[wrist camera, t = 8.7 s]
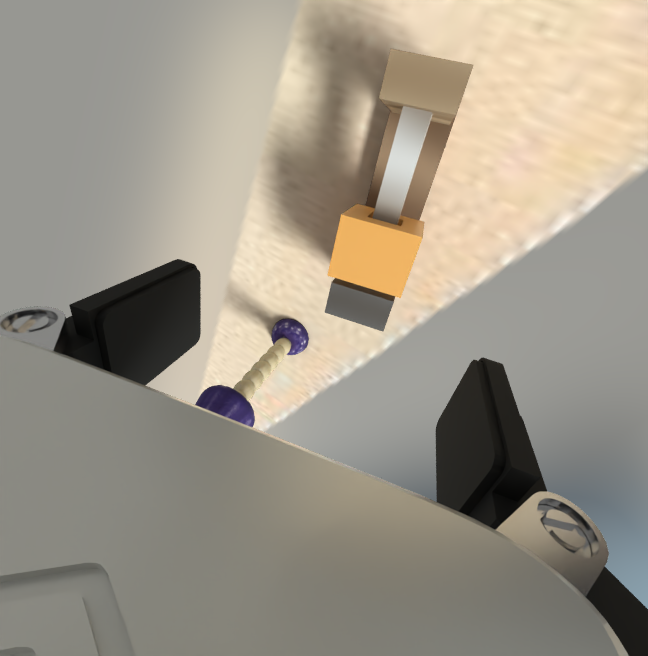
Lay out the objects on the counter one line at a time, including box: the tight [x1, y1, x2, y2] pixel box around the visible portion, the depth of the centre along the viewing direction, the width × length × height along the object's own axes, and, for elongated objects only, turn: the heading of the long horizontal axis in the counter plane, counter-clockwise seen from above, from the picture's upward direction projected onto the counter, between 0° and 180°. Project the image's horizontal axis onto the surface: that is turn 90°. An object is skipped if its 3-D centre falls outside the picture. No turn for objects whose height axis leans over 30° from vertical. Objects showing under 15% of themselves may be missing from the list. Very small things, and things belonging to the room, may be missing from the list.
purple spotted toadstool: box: [195, 319, 309, 427], centre depth 29 cm, size 5×5×17 cm
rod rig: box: [325, 49, 473, 331], centre depth 23 cm, size 15×4×8 cm, turn 168°
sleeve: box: [328, 204, 424, 298], centre depth 22 cm, size 4×5×5 cm
